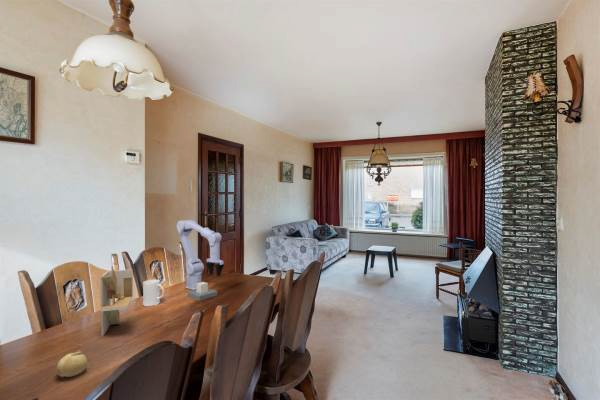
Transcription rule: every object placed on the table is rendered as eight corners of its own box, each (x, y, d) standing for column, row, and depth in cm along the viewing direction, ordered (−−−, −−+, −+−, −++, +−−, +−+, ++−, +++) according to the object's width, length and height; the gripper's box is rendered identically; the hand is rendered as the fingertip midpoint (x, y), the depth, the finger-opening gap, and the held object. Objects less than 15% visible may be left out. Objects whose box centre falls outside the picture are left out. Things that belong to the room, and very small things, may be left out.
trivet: (187, 296, 178) (187, 292, 178) (205, 291, 187) (205, 287, 187) (199, 300, 170) (199, 296, 170) (217, 295, 180) (217, 291, 180)
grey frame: (133, 322, 141) (133, 259, 141) (127, 336, 126) (126, 266, 126) (108, 325, 138) (108, 260, 138) (99, 340, 123) (98, 268, 123)
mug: (168, 302, 168) (168, 280, 168) (156, 307, 160) (156, 284, 160) (151, 300, 171) (151, 278, 171) (138, 305, 163) (138, 282, 163)
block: (196, 292, 178) (196, 283, 178) (203, 290, 182) (202, 281, 182) (201, 293, 175) (201, 284, 175) (207, 291, 179) (207, 283, 179)
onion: (66, 383, 93) (66, 360, 93) (50, 378, 96) (50, 355, 96) (93, 370, 101) (93, 348, 101) (77, 365, 104) (76, 344, 104)
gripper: (202, 252, 190) (202, 274, 190) (216, 254, 181) (216, 278, 180) (212, 250, 195) (212, 272, 195) (226, 253, 186) (226, 275, 186)
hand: (215, 274), depth 188 cm, fingers open, 7 cm apart
